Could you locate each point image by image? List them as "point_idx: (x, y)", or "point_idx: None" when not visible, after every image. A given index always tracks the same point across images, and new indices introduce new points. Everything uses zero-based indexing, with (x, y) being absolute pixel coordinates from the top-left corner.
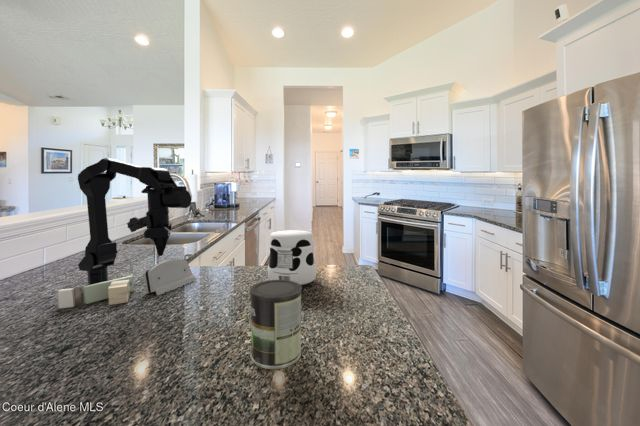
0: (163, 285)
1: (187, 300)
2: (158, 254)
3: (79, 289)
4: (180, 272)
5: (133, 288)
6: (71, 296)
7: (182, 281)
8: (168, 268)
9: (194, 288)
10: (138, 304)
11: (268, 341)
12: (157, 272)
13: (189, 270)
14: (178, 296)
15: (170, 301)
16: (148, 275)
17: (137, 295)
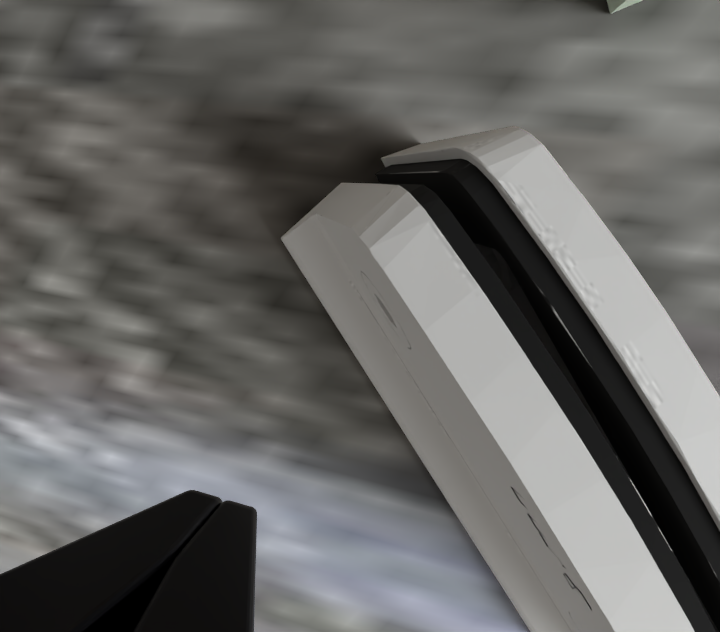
0: (365, 325)
1: (22, 416)
2: (163, 507)
3: None
4: (555, 586)
5: (616, 3)
6: None
7: (460, 520)
8: (513, 499)
9: (296, 546)
10: (111, 41)
11: None
12: (403, 324)
13: None
14: (151, 384)
15: (59, 302)
16: (382, 188)
17: (405, 46)
